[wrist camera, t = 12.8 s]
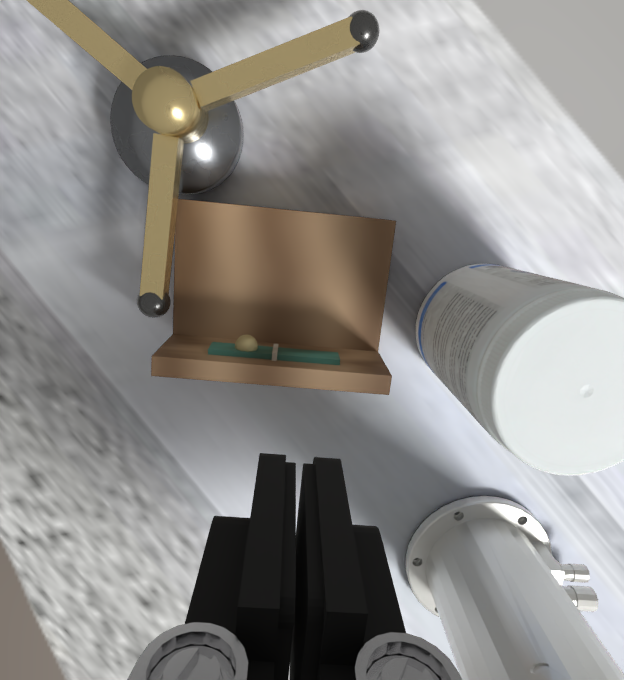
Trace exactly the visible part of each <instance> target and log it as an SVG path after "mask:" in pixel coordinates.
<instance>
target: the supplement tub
mask: <svg viewBox="0 0 624 680" xmlns="http://www.w3.org/2000/svg"><path fill="white" fill-rule="evenodd" d="M416 340H417V345H418V348H419V351H420V354H421V356H422V358H423V359H424V361H425V363H426V364H427V365H428V367H429V368H430V369H431V370H432V372H433V373H434V374H435V375H436V376H437V377H438V378H439V379H440V380H441V382H442V383H443V384H444V385H445V386H446V387H447V388H448V389H449V390H450V391H451V393H452V394H453V395H454V396H455V397H456V398H457V399H458V400H459V401H460V402H461V404H462V405H463V406H464V407H465V408H466V409H467V410H468V411H469V412H470V413H471V415H472V416H473V417H474V418H475V419H476V420H477V421H478V422H479V423H480V425H481V426H482V427H483V428H484V429H485V430H486V431H487V432H488V433H489V434H490V435H491V436H492V437H493V438H494V439H495V440H496V441H497V442H498V443H499V444H500V445H502V446H503V447H504V448H505V449H507V450H508V451H509V452H511V453H512V454H513V455H515V456H516V457H517V458H518V459H520V460H521V461H522V462H524V463H526V464H527V465H529V466H531V467H533V468H535V469H538V470H540V471H543V472H547V473H551V474H556V475H569V476H571V475H583V474H589V473H594V472H598V471H601V470H604V469H607V468H610V467H612V466H614V465H616V464H618V463H620V462H622V461H624V298H622V297H620V296H618V295H615V294H613V293H610V292H607V291H603V290H599V289H595V288H591V287H587V286H583V285H579V284H575V283H571V282H567V281H562V280H558V279H554V278H550V277H546V276H542V275H538V274H533V273H529V272H525V271H521V270H517V269H513V268H508V267H504V266H500V265H494V264H473V265H469V266H465V267H462V268H459V269H457V270H455V271H453V272H451V273H449V274H448V275H446V276H445V277H443V278H442V279H441V280H440V281H439V282H438V283H437V284H436V285H435V286H434V287H433V288H432V289H431V290H430V292H429V293H428V295H427V296H426V298H425V299H424V301H423V303H422V305H421V307H420V310H419V313H418V316H417V321H416Z"/></svg>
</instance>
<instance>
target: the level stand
mask: <svg viewBox="0 0 624 680" xmlns="http://www.w3.org/2000/svg"><path fill="white" fill-rule="evenodd" d="M395 225H396V221H392V220H385V219H375V218H365V217H355V216H345V215H335V214H326V213H316V212H306V211H296V210H286V209H276V208H266V207H256V206H246V205H236V204H227V203H217V202H207V201H197V200H186V199H178V205H177V215H176V225H175V266H174V310H173V335H172V336H171V337H170V338H169V339H168V340H167V341H166V342H165V343H164V344H163V345H162V346H161V347H160V348H159V349H158V350H157V351H156V352H155V353H154V354H153V355H152V362H151V376H159V377H172V378H184V379H197V380H209V381H222V382H234V383H247V384H259V385H272V386H284V387H297V388H309V389H322V390H334V391H347V392H359V393H372V394H384V395H389V392H390V385H391V378H392V375H391V374H390V372H389V370H388V368H387V367H386V365H385V363H384V361H383V360H382V358H381V356H380V354H379V353H378V347H379V340H380V333H381V326H382V319H383V312H384V304H385V297H386V290H387V283H388V276H389V269H390V261H391V254H392V247H393V240H394V233H395Z"/></svg>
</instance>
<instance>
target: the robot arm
mask: <svg viewBox="0 0 624 680" xmlns="http://www.w3.org/2000/svg"><path fill="white" fill-rule="evenodd" d="M406 573H407V577H408V581H409V584H410V587H411V589H412V592H413V594H414V595H415V597H416V598H417V600H418V601H419V602H420V603H421V604H422V605H423V606H424V607H425V608H426V609H427V610H428V611H430V612H431V613H433V614H434V615H436V616H438V617H440V619H441V622H442V625H443V628H444V631H445V634H446V636H447V639H448V642H449V645H450V648H451V651H452V653H453V656H454V659H455V662H456V665H457V668H458V670H459V672H458V671H457V669H456V668H455V666H454V665H453V663H452V662H451V660H450V659H449V658H448V657H447V656H446V655H445V654H444V653H443V652H442V651H440V650H439V649H438V648H437V647H436V646H434V645H433V644H431V643H429V642H427V641H426V640H424V639H422V638H420V637H417V636H413V635H410V634H407V633H406V631H405V627H404V623H403V620H402V616H401V612H400V608H399V604H398V600H397V596H396V593H395V589H394V585H393V581H392V577H391V573H390V569H389V566H388V562H387V558H386V554H385V550H384V546H383V542H382V539H381V535H380V532H379V529H378V528H377V527H376V526H364V525H352V520H351V515H350V509H349V504H348V498H347V492H346V487H345V481H344V476H343V470H342V464H341V460H340V459H333V458H319V457H314V460H313V464H305V463H304V464H303V471H302V480H301V490H300V500H299V509H298V519H297V529H296V463H290V462H286V455H277V454H263V453H260V455H259V462H258V469H257V476H256V483H255V490H254V497H253V503H252V510H251V517H250V518H239V517H223V516H214V518H213V521H212V524H211V528H210V531H209V535H208V539H207V543H206V546H205V550H204V554H203V558H202V561H201V565H200V569H199V573H198V576H197V580H196V584H195V588H194V591H193V595H192V599H191V603H190V606H189V610H188V614H187V618H186V621H185V624H183V625H178V626H176V627H174V628H172V629H170V630H168V631H165V632H163V633H162V634H160V635H159V636H158V637H157V638H156V639H154V640H153V641H152V642H151V643H149V644H148V646H147V647H146V649H145V650H144V651H143V653H142V654H141V655H140V657H139V658H138V660H137V662H136V664H135V666H134V668H133V670H132V672H131V674H130V675H129V677H128V679H127V680H288V675H289V665H290V680H624V674H623V672H622V671H621V669H620V668H619V666H618V665H617V664H616V662H615V661H614V659H613V658H612V657H611V655H610V654H609V652H608V651H607V649H606V648H605V647H604V645H603V644H602V642H601V641H600V639H599V638H598V637H597V635H596V634H595V632H594V631H593V630H592V628H591V627H590V625H589V624H588V622H587V621H586V620H585V618H584V617H583V615H582V614H581V612H580V611H584V612H594V611H596V610H597V608H598V599H597V595H596V593H595V591H594V590H593V589H592V588H591V587H585V586H562V581H563V580H565V581H571V582H584V583H585V582H588V581H589V577H590V575H589V570H588V568H587V567H586V566H585V565H581V564H560V563H559V561H557V560H555V559H554V557H553V556H552V552H551V544H550V541H549V538H548V536H547V533H546V531H545V530H544V528H543V527H542V525H541V524H540V523H539V521H538V520H537V519H536V518H535V517H534V516H533V514H532V513H531V512H529V511H528V510H527V509H525V508H524V507H523V506H521V505H519V504H517V503H515V502H513V501H511V500H508V499H504V498H500V497H493V496H477V497H468V498H465V499H461V500H457V501H454V502H452V503H450V504H448V505H445V506H443V507H441V508H440V509H439V510H437V511H436V512H434V513H433V514H431V515H430V516H429V517H428V518H427V519H426V520H425V521H424V522H423V523H422V524H421V525H420V526H419V528H418V529H417V530H416V532H415V533H414V534H413V537H412V539H411V541H410V543H409V545H408V549H407V553H406ZM459 673H460V674H459Z"/></svg>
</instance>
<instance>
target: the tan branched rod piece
mask: <svg viewBox="0 0 624 680" xmlns="http://www.w3.org/2000/svg"><path fill="white" fill-rule="evenodd" d="M27 1H28V2H29V3H30V4H31V5H33V6H34V7H35V8H36V9H37V10H39V11H40V12H41V13H42V14H43V15H44V16H46V17H47V18H48V19H49V20H50V21H51V22H53V23H54V24H55V25H56V26H57V27H58V28H60V29H61V30H62V31H63V32H64V33H66V34H67V35H68V36H69V37H70V38H71V39H73V40H74V41H75V42H76V43H77V44H78V45H80V46H81V47H82V48H83V49H84V50H85V51H87V52H88V53H89V54H90V55H91V56H93V57H94V58H95V59H96V60H97V61H98V62H100V63H101V64H102V65H103V66H104V67H105V68H107V69H108V70H109V71H110V72H111V73H112V74H114V75H115V76H116V77H117V78H118V79H119V80H121V81H122V82H121V83H120V85H119V87H118V89H117V91H116V93H115V96H114V99H113V103H112V108H111V130H112V135H113V139H114V143H115V145H116V148H117V150H118V152H119V154H120V156H121V158H122V160H123V161H124V163H125V164H126V166H127V167H128V168H129V169H130V170H131V171H132V172H133V173H134V174H135V175H136V176H137V177H138V178H139V179H141V180H142V181H143V182H145V183H146V184H148V185H149V191H148V202H147V214H146V226H145V238H144V250H143V261H142V273H141V285H140V293H139V295H138V297H137V305H138V308H139V310H140V311H141V312H142V313H143V314H144V315H146V316H148V317H153V318H155V317H160V316H162V315H164V314H165V313H166V312H167V311H168V309H169V307H170V297H169V285H170V275H171V265H172V255H173V245H174V235H175V225H176V215H177V205H178V195H179V194H197V193H202V192H205V191H208V190H210V189H212V188H215V187H216V186H218V185H219V184H221V183H222V182H223V181H224V180H225V179H226V178H227V177H228V176H229V175H230V174H231V173H232V171H233V170H234V168H235V166H236V164H237V162H238V160H239V158H240V155H241V151H242V146H243V125H242V119H241V116H240V113H239V110H238V108H237V105H236V103H235V101H234V100H236V99H239V98H241V97H244V96H246V95H249V94H252V93H254V92H257V91H259V90H262V89H264V88H267V87H269V86H272V85H274V84H277V83H279V82H282V81H284V80H287V79H289V78H292V77H294V76H297V75H300V74H302V73H305V72H307V71H310V70H312V69H315V68H317V67H320V66H322V65H325V64H327V63H330V62H332V61H335V60H337V59H340V58H342V57H345V56H348V55H350V54H353V53H355V52H357V53H364V52H367V51H369V50H370V49H371V48H372V47H373V46H374V45H375V44H376V42H377V40H378V36H379V24H378V21H377V19H376V18H375V16H374V15H373V14H372V13H370V12H368V11H365V10H359V11H356V12H354V13H352V14H351V15H350V16H349V17H348V18H346V19H343V20H341V21H338V22H336V23H333V24H331V25H328V26H326V27H323V28H321V29H318V30H316V31H314V32H311V33H309V34H306V35H304V36H301V37H299V38H296V39H294V40H291V41H289V42H286V43H284V44H281V45H279V46H276V47H274V48H271V49H269V50H266V51H264V52H261V53H259V54H256V55H254V56H251V57H249V58H246V59H244V60H241V61H239V62H236V63H234V64H231V65H229V66H226V67H224V68H221V69H219V70H216V71H214V72H212V71H211V70H209V69H208V68H207V67H205V66H204V65H202V64H200V63H199V62H196V61H194V60H192V59H189V58H185V57H180V56H160V57H155V58H152V59H149V60H146V61H144V62H142V63H140V62H139V61H137V60H136V59H135V58H134V57H133V56H132V55H131V54H129V53H128V52H127V51H126V50H125V49H124V48H122V47H121V46H120V45H119V44H118V43H117V42H116V41H114V40H113V39H112V38H111V37H110V36H109V35H107V34H106V33H105V32H104V31H103V30H102V29H101V28H99V27H98V26H97V25H96V24H95V23H94V22H93V21H91V20H90V19H89V18H88V17H87V16H86V15H84V14H83V13H82V12H81V11H80V10H79V9H78V8H76V7H75V6H74V5H73V4H72V3H71V2H70V1H68V0H27Z"/></svg>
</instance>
